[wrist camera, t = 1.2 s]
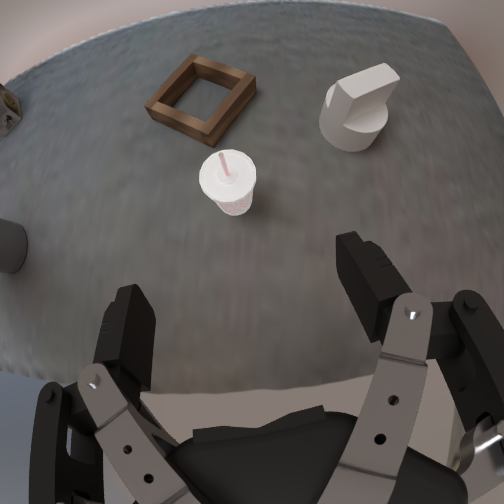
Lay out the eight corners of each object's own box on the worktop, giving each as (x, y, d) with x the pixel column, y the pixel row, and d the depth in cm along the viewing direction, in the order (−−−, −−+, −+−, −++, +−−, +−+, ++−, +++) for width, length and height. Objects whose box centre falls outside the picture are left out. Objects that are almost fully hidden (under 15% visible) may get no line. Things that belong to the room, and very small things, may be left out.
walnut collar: (152, 118, 41) (143, 105, 38) (195, 68, 42) (191, 53, 39) (212, 147, 40) (208, 134, 36) (256, 91, 41) (255, 76, 37)
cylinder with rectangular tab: (343, 161, 40) (369, 119, 28) (306, 116, 41) (319, 65, 29) (385, 137, 40) (417, 95, 28) (349, 95, 41) (370, 47, 29)
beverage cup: (266, 192, 39) (267, 144, 25) (242, 229, 39) (230, 198, 25) (228, 170, 40) (212, 117, 26) (203, 206, 39) (174, 166, 25)
